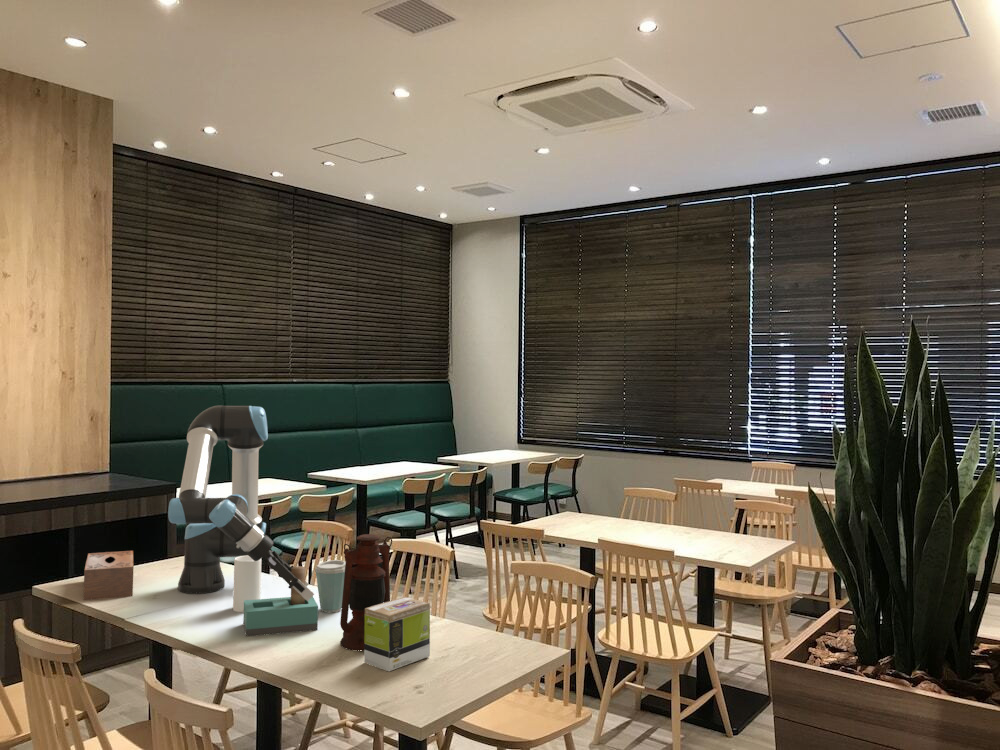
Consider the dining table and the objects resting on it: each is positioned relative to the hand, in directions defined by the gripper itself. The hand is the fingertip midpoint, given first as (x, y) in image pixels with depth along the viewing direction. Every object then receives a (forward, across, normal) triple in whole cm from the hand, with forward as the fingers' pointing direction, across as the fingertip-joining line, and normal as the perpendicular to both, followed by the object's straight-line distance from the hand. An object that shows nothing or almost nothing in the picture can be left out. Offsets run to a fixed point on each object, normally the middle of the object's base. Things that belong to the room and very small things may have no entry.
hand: (308, 592), depth 235 cm
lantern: (+16, +21, +2) cm, 27 cm away
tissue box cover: (-34, -59, -48) cm, 84 cm away
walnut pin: (+3, 0, -7) cm, 8 cm away
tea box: (+20, +37, +6) cm, 42 cm away
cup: (-4, -22, -18) cm, 29 cm away
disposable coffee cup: (+13, -13, 0) cm, 19 cm away
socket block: (+1, 0, -12) cm, 12 cm away
